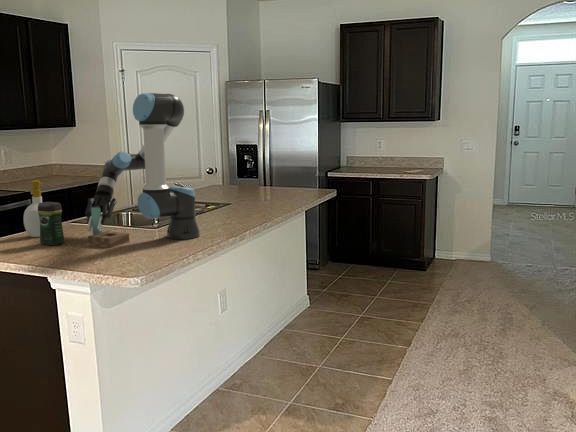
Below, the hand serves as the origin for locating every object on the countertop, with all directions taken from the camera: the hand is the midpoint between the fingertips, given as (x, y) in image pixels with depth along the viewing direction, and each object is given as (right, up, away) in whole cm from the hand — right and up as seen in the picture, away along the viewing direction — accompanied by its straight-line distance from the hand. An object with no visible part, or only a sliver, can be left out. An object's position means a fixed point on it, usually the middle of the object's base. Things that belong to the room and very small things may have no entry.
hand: (93, 229), depth 254 cm
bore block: (+9, -6, -7) cm, 13 cm away
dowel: (0, -4, +5) cm, 6 cm away
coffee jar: (-16, -6, -7) cm, 18 cm away
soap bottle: (-28, -3, +10) cm, 30 cm away
